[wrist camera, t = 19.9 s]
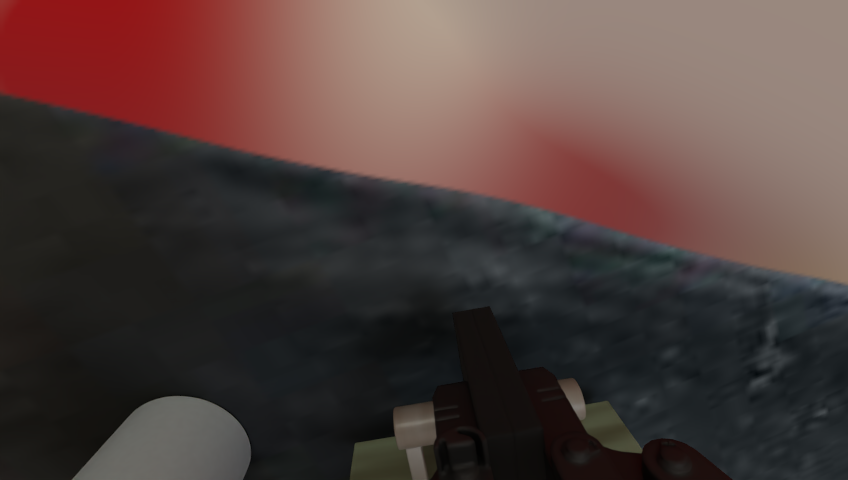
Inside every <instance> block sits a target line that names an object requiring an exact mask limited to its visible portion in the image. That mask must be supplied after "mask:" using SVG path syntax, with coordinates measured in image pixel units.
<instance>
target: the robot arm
mask: <svg viewBox="0 0 848 480" xmlns="http://www.w3.org/2000/svg"><path fill="white" fill-rule="evenodd" d="M452 314H453V320H454V326H455V332H456V339H457V345H458V351H459V357H460V363H461V369H462V374H463V379H464V382H458V383H452V384H446V385H441V386H437V389H436V391H435V393H434V395H433V397H432V398H433V408H434V418H435V428H436V439H435V441H434V448H433V450H434V455H435V460H436V465H437V470H436V472H435V473H434V475H433V476H432V478H431V479H430V480H732V479H731V478H730V477H729V476H727V475H726V474H725V473H724V472H722V471H721V470H720V469H719V468H717V467H716V466H715V465H714V464H713V463H711V462H710V461H709V460H708V459H706V458H705V457H704V456H703V455H701V454H700V453H699V452H698V451H696V450H695V449H693V448H692V447H690V446H688V445H687V444H685V443H682V442H679V441H676V440H673V439H662V438H661V439H656V440H651V441H650V442H649V443H647V444H646V445H644V448H643V451H642V453H632V452H622V451H617V450H612V449H609V448H607V447H604V446H603V445H602V444H601V443H600V442H599V441H598V439H596V438H594V437H593V436H591V435H589V434H588V433H587V432H586V430H585V428H584V426H583V425H582V423H581V421H580V419H579V418H578V416H577V414H576V412H575V411H574V409H573V407H572V405H571V404H570V402H569V400H568V398H566V395H565V393H564V391H563V390H562V389H561V386H560V384H559V383H558V381H557V379H556V377H555V376H554V375H553V374H552V373H550V372H549V371H548V370H546V369H545V368H544V367H539V368H533V369H527V370H522V371H518V370H517V367H516V365H515V363H514V361H513V358H512V356H511V354H510V352H509V349H508V347H507V345H506V342H505V340H504V338H503V336H502V333H501V331H500V329H499V327H498V324H497V322H496V320H495V317H494V315H493V313H492V311H491V308H490V306H489V307H483V308H478V309H472V310H466V311H460V312H454V313H452Z"/></svg>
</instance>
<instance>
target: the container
mask: <svg viewBox="0 0 848 480" xmlns="http://www.w3.org/2000/svg"><path fill="white" fill-rule="evenodd" d="M250 459H251V447H250V442H249V438H248V436H247V434H246V432H245V430H244V429H243V427H242V425H241V424H240V423H239V422H238V421H237V419H235V418H234V417H233V416H232V415H231V414H230V413H228V412H227V411H226V410H224V409H223V408H221V407H219V406H218V405H215V404H213V403H211V402H209V401H206V400H202V399H199V398H194V397H187V396H170V397H163V398H159V399H155V400H152V401H150V402H147V403H145V404H144V405H142V406H140V407H139V408H137V409H136V410H135V411H134V412H133V413H132V414H131V415H130V416H129V417H128V418H127V419H126V420H125V421H124V422H123V423H122V424H121V426H120V427H119V428H118V429H117V430H116V431H115V432H114V433H113V434H112V436H111V437H110V438H109V439H108V440H107V441H106V442H105V443H104V444H103V446H102V447H101V448H100V449H99V450H98V451H97V452H96V453H95V454H94V456H93V457H92V458H91V459H90V460H89V461H88V462H87V463H86V464H85V466H84V467H83V468H82V469H81V470H80V471H79V472H78V473H77V474H76V476H75V477H74V478H73V479H72V480H243V478H244V476H245V473H246V471H247V469H248V466H249V463H250Z"/></svg>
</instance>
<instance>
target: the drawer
mask: <svg viewBox="0 0 848 480" xmlns="http://www.w3.org/2000/svg"><path fill="white" fill-rule="evenodd" d="M557 381H558V383H559V384H560V386H561V389H562V390H563V391H564V393H565V395H566V398H568V400H569V402H570V404H571V405H572V407H573V409H574V411H575V412H576V414H577V416H578V418H579V419H580V421H581V423H582V425H583V426H584V428H585V430H586V432H587V433H588V434H589V435H591V436H593V437H594V438H596V439H598V441H599V442H600V443H601V444H602V445H603V446H604V447H607V448H609V449H612V450H617V451H622V452H632V453H642V451H643V450H642V449H641V447H640V446H639V444H638V443H637V442H636V440H635V439H634V437H633V436H632V435H631V433H630V432H629V430H628V429H627V428H626V426H625V425H624V423H623V422H622V420H621V419H620V418H619V416H618V415H617V413H616V412H615V411H614V409H613V408H612V406H611V405H610V403H609V402H608V401H604V402H598V403H592V404H586V405H585V402H584V398H583V395H582V392H581V389H580V387H579V385H578V383H577V382H576V380H575V379H574V378H567V379H561V380H557ZM393 422H394V432H395V437H389V438H383V439H377V440H371V441H365V442H359V443H355V446H354V453H353V460H352V467H351V473H350V480H430V479H431V478H432V476H433V475H434V473H435V472H436V470H437V465H436V460H435V455H434V450H433V448H434V441H435V439H436V428H435V418H434V408H433V401H430V402H424V403H418V404H412V405H406V406H400V407H395V408H394V411H393Z"/></svg>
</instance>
